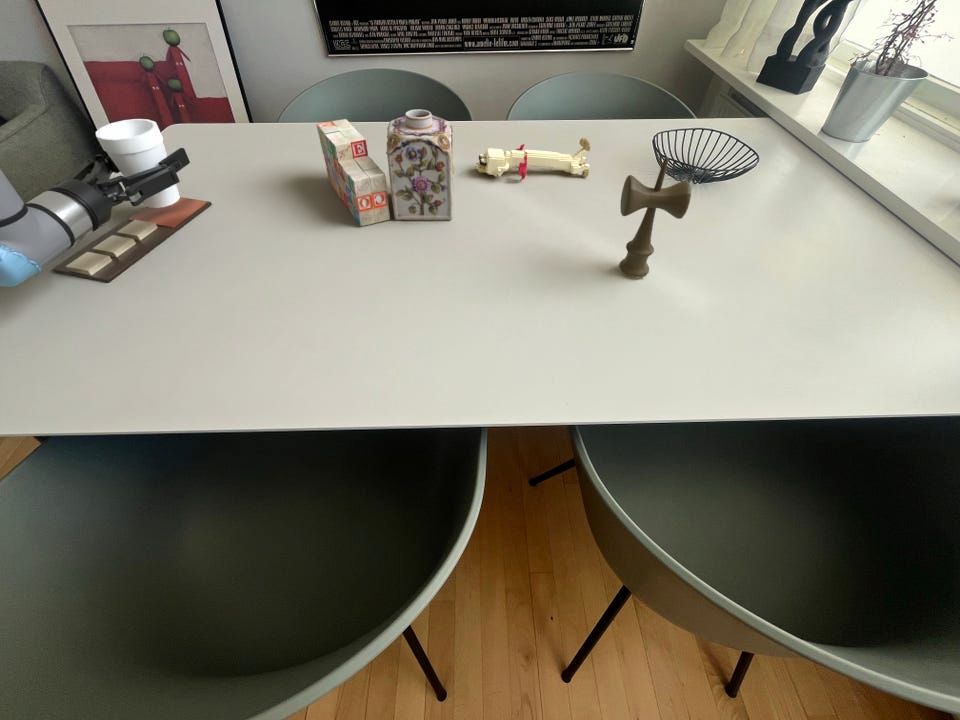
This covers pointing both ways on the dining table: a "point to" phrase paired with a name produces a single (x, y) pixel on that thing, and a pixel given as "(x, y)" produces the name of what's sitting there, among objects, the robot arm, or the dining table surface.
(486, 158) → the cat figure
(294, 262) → the dining table surface
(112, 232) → the word board
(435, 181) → the decorative jar
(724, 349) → the dining table surface
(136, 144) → the foam cup
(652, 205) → the kendama
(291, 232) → the dining table surface
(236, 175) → the dining table surface
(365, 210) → the stack of blocks
